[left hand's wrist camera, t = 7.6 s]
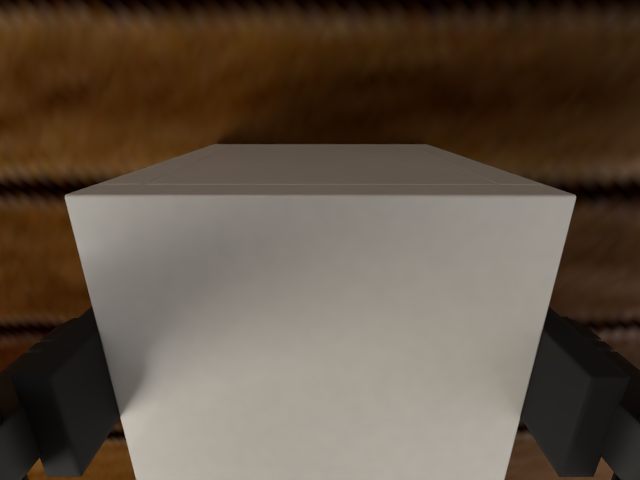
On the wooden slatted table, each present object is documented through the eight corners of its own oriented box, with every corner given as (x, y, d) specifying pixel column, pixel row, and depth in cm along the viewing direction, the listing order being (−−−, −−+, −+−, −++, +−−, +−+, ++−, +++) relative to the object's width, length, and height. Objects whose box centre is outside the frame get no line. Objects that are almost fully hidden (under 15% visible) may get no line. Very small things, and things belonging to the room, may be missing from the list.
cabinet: (397, 445, 24) (451, 688, 14) (243, 445, 24) (188, 687, 14) (427, 144, 17) (578, 195, 7) (213, 143, 18) (62, 194, 7)
